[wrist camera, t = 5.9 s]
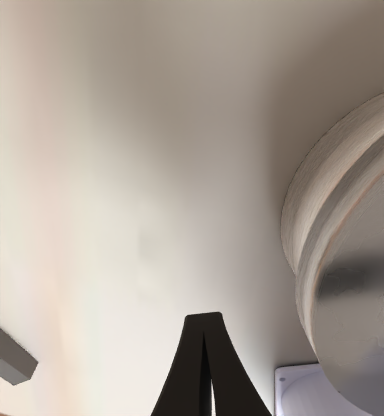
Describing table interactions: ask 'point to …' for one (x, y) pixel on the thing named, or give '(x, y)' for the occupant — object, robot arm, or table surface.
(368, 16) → the table surface
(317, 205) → the cooker pot
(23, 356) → the gun
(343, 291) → the cooker lid
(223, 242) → the table surface
